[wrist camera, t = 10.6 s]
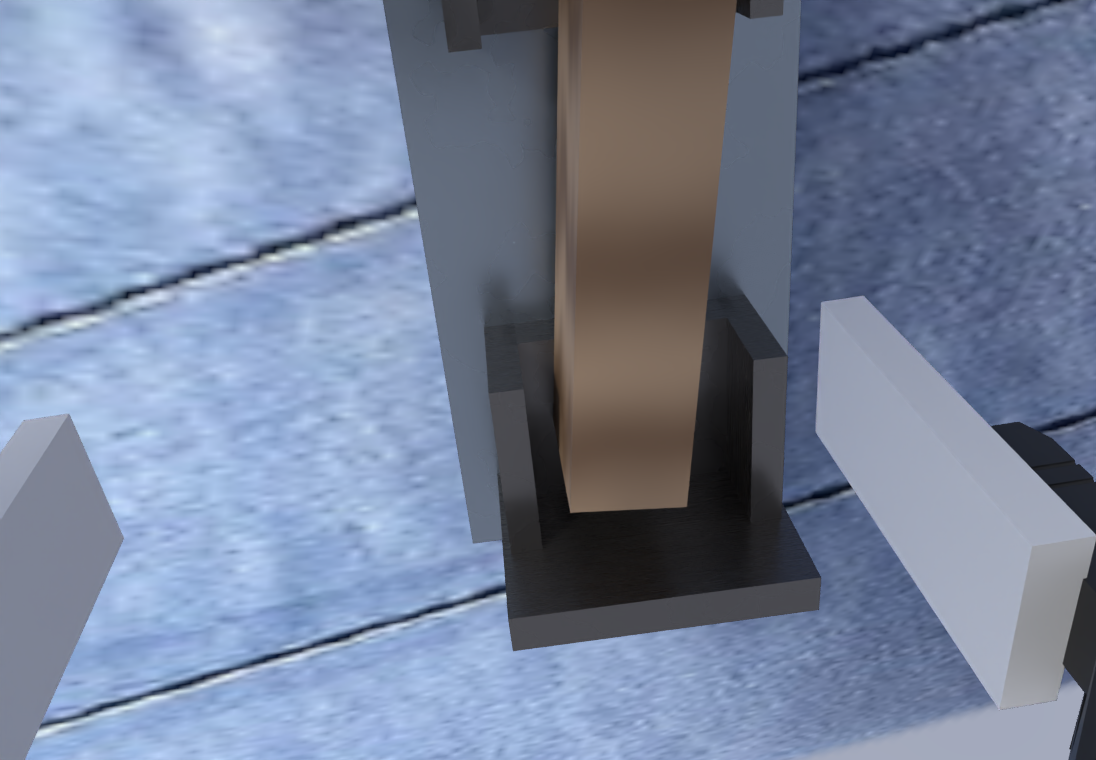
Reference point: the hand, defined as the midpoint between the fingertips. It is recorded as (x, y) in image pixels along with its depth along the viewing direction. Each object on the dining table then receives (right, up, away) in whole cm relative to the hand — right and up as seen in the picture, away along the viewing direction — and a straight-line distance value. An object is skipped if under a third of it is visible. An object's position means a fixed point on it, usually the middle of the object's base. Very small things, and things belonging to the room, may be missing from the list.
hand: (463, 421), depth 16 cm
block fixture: (+4, +9, +18) cm, 21 cm away
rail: (+4, +7, +16) cm, 18 cm away
